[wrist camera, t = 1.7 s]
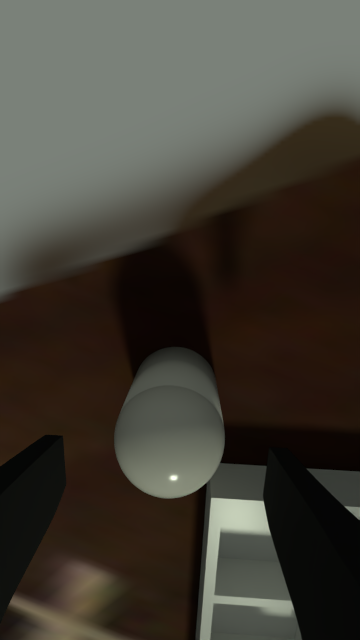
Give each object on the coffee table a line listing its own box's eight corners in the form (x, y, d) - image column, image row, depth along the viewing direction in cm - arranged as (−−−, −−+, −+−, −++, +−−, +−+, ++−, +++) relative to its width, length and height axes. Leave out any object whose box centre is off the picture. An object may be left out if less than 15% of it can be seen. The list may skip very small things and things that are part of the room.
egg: (218, 348, 16) (237, 421, 9) (213, 422, 17) (226, 532, 11) (135, 344, 16) (97, 413, 10) (135, 418, 17) (101, 524, 11)
